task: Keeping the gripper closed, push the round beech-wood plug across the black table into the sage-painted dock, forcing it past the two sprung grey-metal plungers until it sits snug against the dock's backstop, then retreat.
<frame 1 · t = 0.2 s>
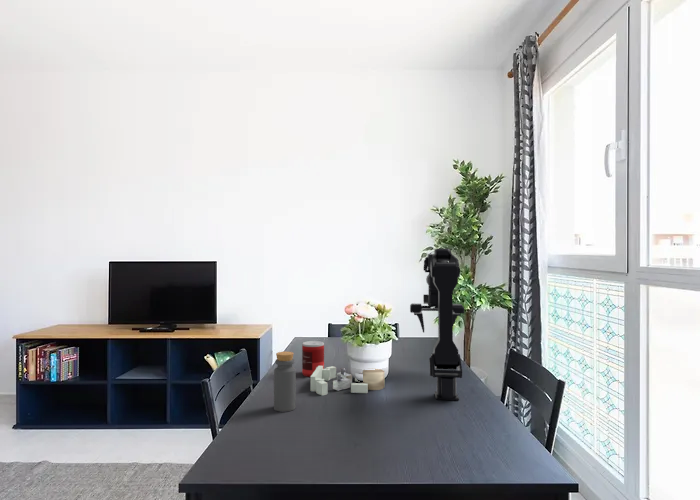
hand: (436, 332, 159), 14 cm above the table, fingers open, 9 cm apart
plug: (373, 387, 142), on the table
bottle: (284, 409, 121), on the table
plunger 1: (341, 381, 139), point 2 cm above the table, slide at 0.0 cm
dock: (342, 385, 143), on the table
canned food: (313, 374, 157), on the table
plunger 2: (344, 375, 146), point 2 cm above the table, slide at 0.0 cm
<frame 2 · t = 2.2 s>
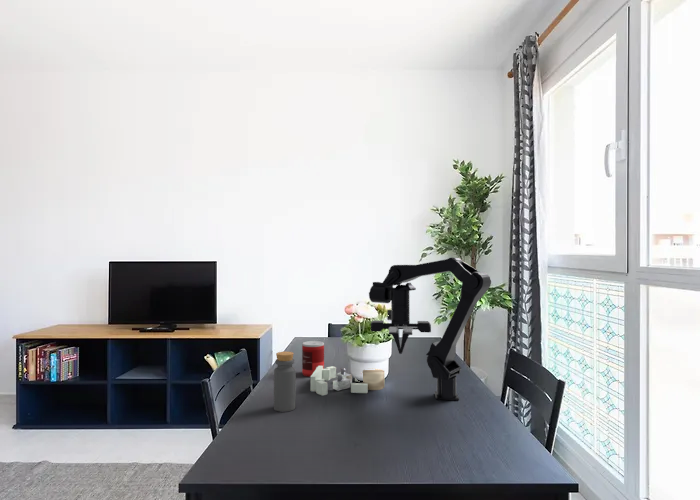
hand: (400, 353, 141), 11 cm above the table, fingers closed
nothing on the table moved.
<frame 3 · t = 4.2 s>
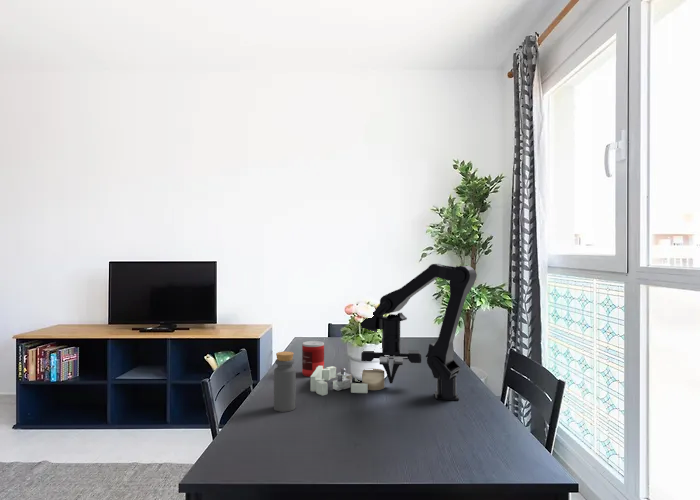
hand: (391, 383, 141), 1 cm above the table, fingers closed
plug: (373, 387, 142), on the table, touching gripper
everything else where it was.
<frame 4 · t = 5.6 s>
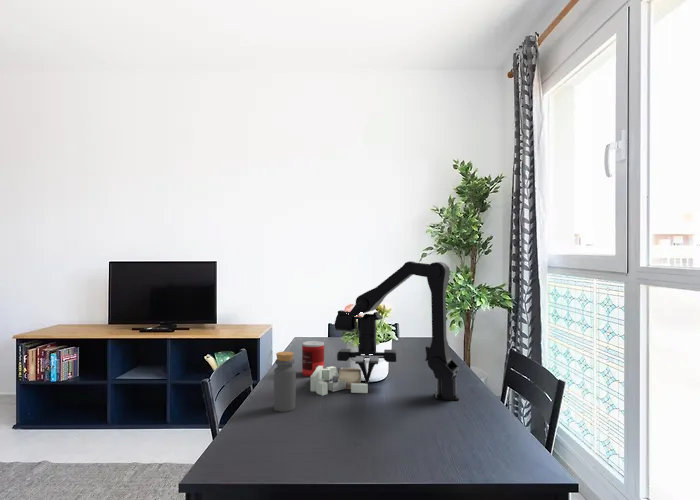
hand: (367, 382, 142), 1 cm above the table, fingers closed
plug: (349, 385, 142), on the table, touching gripper, plunger 2, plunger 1
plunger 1: (337, 382, 138), point 2 cm above the table, slide at 1.8 cm, touching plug
plunger 2: (341, 374, 148), point 2 cm above the table, slide at 1.8 cm, touching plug
everything else where it was.
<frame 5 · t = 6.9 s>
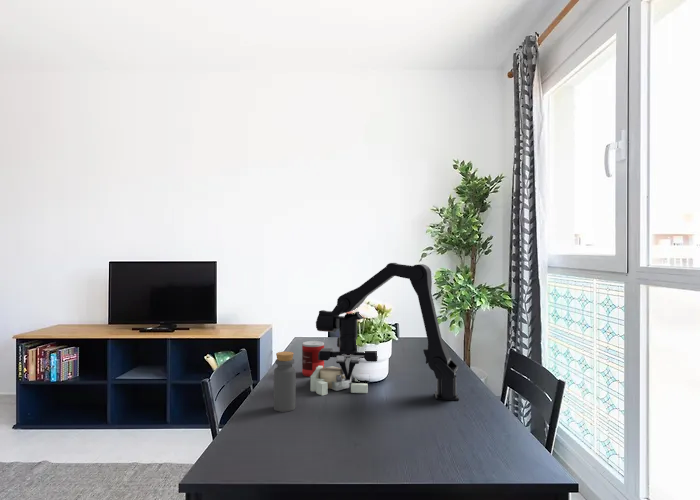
hand: (348, 381, 142), 1 cm above the table, fingers closed
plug: (330, 385, 143), on the table, touching gripper
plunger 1: (340, 381, 139), point 2 cm above the table, slide at 0.4 cm
plunger 2: (343, 375, 147), point 2 cm above the table, slide at 0.4 cm
everything else where it was.
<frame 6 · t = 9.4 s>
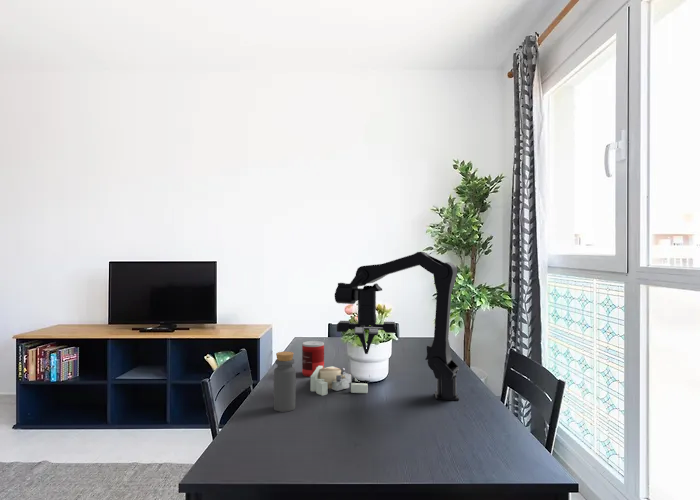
hand: (366, 353, 142), 10 cm above the table, fingers closed
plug: (330, 385, 143), on the table
everything else where it was.
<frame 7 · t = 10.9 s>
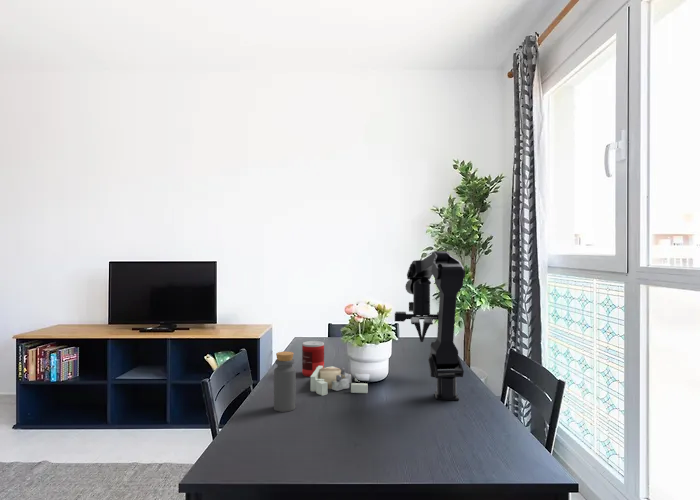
hand: (421, 341, 154), 12 cm above the table, fingers closed
nothing on the table moved.
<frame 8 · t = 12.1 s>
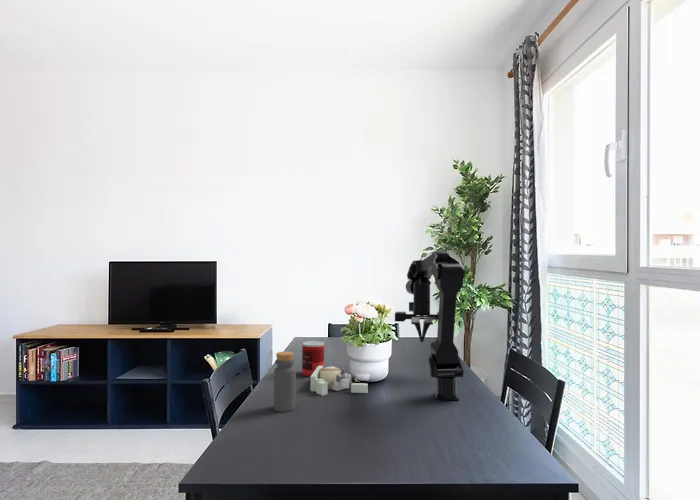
hand: (421, 341, 154), 12 cm above the table, fingers closed
nothing on the table moved.
at the end: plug 0.8 cm from the target spot, on the table; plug tilted 0°; plunger 2 slide at 0.4 cm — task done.
